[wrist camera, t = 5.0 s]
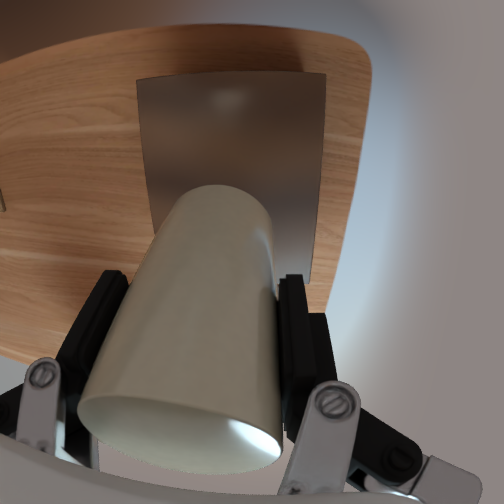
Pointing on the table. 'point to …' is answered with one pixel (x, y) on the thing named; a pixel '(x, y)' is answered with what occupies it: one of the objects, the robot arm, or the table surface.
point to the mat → (2, 204)
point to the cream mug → (196, 344)
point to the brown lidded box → (239, 147)
